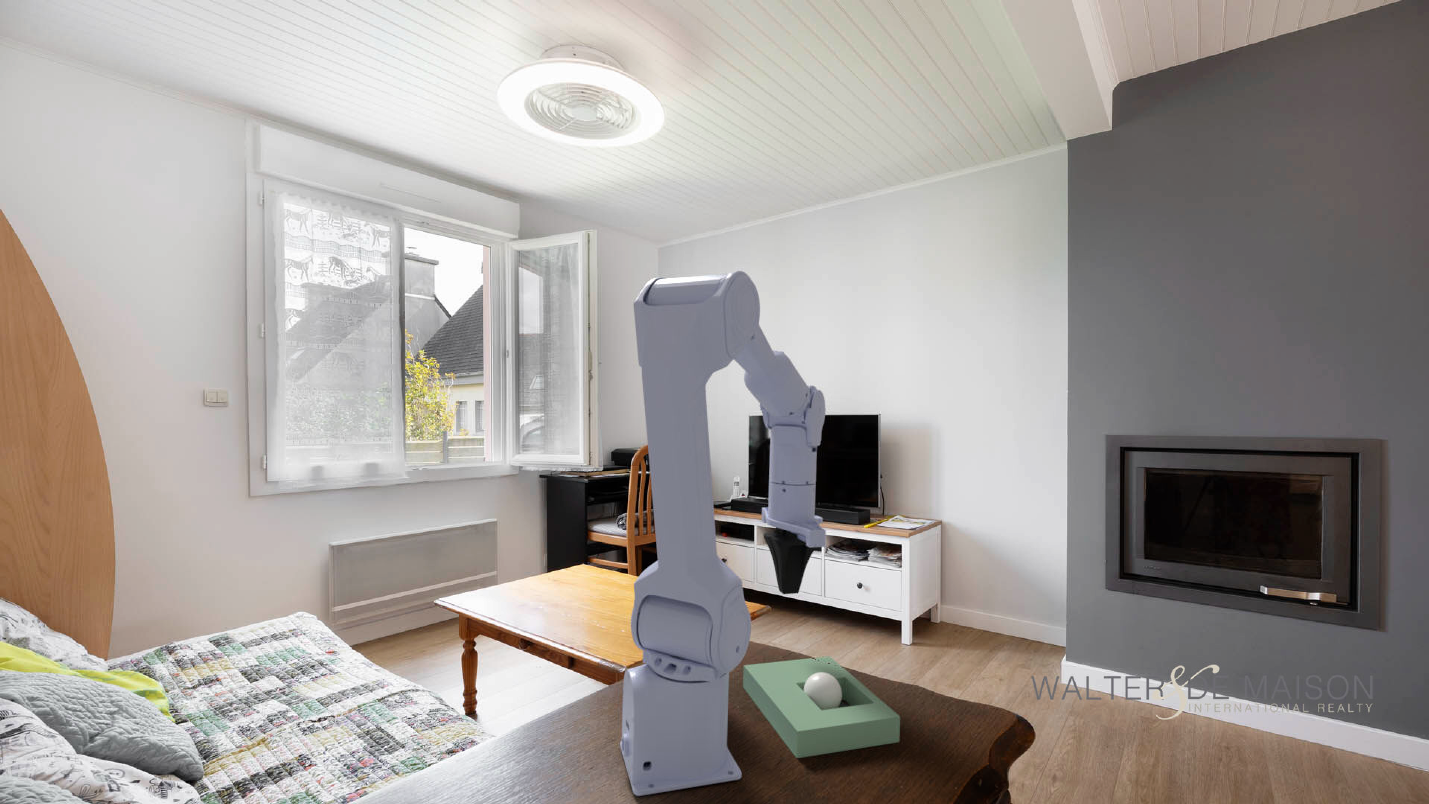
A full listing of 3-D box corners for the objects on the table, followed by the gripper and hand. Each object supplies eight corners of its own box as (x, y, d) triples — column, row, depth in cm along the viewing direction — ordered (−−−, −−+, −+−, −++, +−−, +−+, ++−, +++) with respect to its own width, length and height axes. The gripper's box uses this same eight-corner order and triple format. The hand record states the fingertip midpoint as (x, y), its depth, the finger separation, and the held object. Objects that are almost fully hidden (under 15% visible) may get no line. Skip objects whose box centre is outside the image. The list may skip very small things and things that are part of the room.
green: (796, 758, 57) (797, 731, 57) (742, 687, 71) (743, 665, 71) (899, 742, 61) (900, 716, 61) (828, 676, 75) (829, 656, 75)
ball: (794, 672, 67) (805, 702, 68) (804, 697, 63) (815, 728, 64) (829, 659, 67) (839, 689, 68) (841, 682, 63) (851, 714, 64)
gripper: (851, 490, 71) (847, 609, 71) (796, 474, 85) (793, 573, 85) (794, 491, 69) (790, 614, 69) (748, 474, 83) (745, 576, 83)
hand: (788, 592), depth 77 cm, fingers closed
